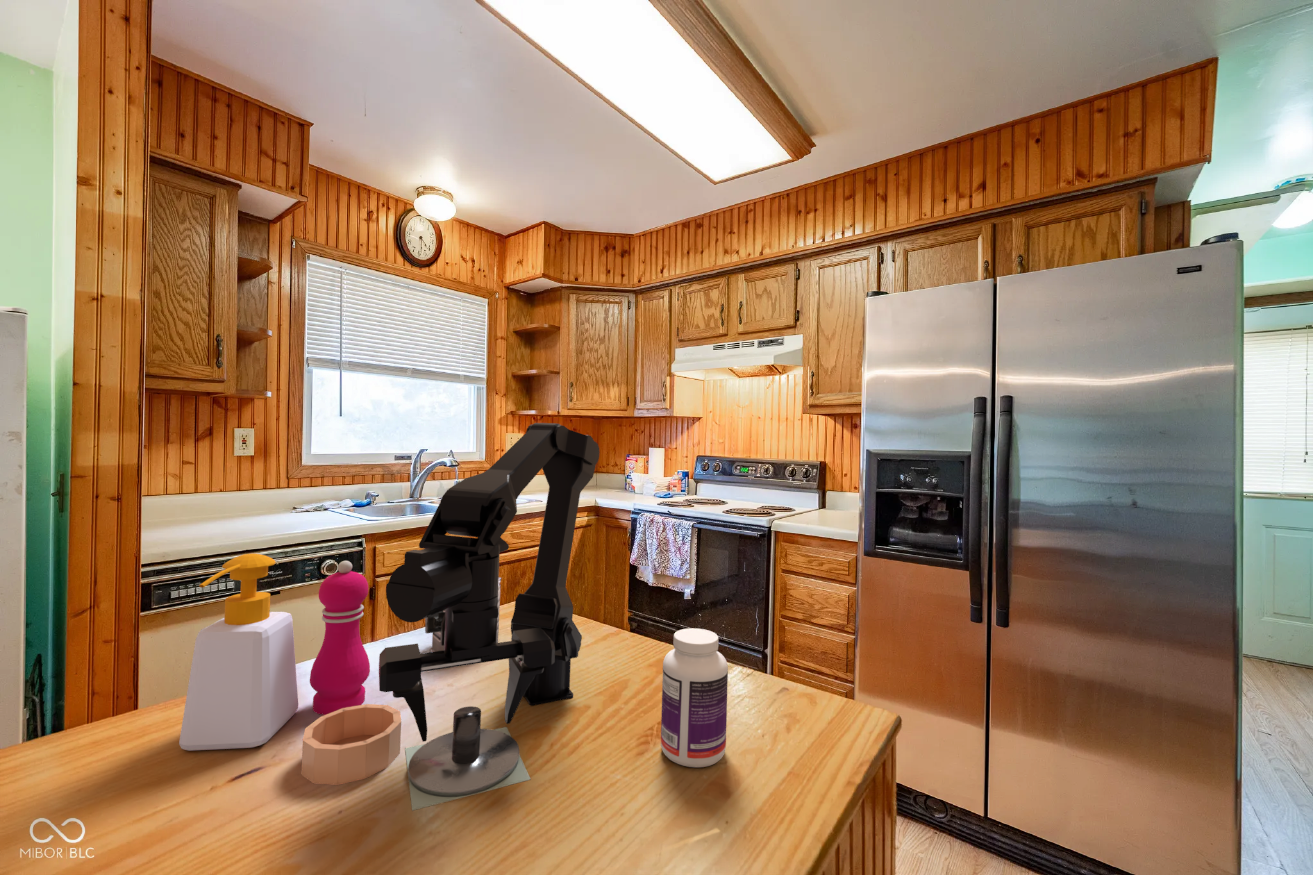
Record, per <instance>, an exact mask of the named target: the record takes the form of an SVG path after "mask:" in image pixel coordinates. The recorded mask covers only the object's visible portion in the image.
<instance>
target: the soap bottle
mask: <svg viewBox="0 0 1313 875" xmlns="http://www.w3.org/2000/svg"><path fill="white" fill-rule="evenodd" d="M275 564H276V560H275V559H273V557H270V556H268V555H264V554H260V553H255V552H254V553H252V552H251V553H244V554H241V555H238V556H235V557H233V558H232V559H230V560H227V561H226V562H225V563H224V564H222V566H221V567H222V569H223V570H221V571H219V572H216V573H215V574H214V575H212V576H211V577H209V578H207V579H206V580H205V581H203V582H202V583H200V584H198V586H199V587H200V588H205V587H207V586H208V585H210V584H211V583H212V582H214V581H215V580H217V579H219V578H220V577H222V576H224V575H226V574H228V573H229V579H230V580H232V581H240V593H237V594H233V595H231V596H230V595H229V596H227V597H226V598H225V599H224V617H223V618H220V619H219V620H217V621H214V622H213V623H212V624H209V625H207V626H206V627H205V626H204V627H203V628H201V629H200V630H199V631H198V634H197V636H196V637H195V643H194V649H193V654H192V659H191V660H192V661H191V666H190V667H191V668H190V673H189V679H188V680H189V681H188V685H187V692H186V699H185V703H184V704H185V705H184V712H183V717H182V723H181V730H180V734H179V742H178V745H179V746H180V748H181V749H182V750H185V751H206V750H207V751H208V750H225V749H226V750H227V749H228V750H230V749H247V748H248V749H249V748H255V747H258V746H262V745H263V744H266V743H268V741H269V740H270V739H271V738H273V736H274V735H275V734H276V733H278V732H279V730H280V729H281V728H282V727H283V726H284V725H285V724H286V723H288V721H289V720H290V719H291V718H292V717H294V715H295V714H296V712H297V710H298V709H299V696H298V695H299V694H298V681H297V667H296V666H297V664H296V651H295V650H296V649H295V638H294V636H295V634H294V626H293V625H294V624H293V622H294V621H293V616H292V614H291V613H289V612H286V611H270V610H271V593H270V592H266V591H257V584H258V583H257V582H258V579H262V578H265V577H267V576H269V567H271V566H274V565H275Z"/></svg>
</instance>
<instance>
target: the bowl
mask: <svg viewBox="0 0 1313 875" xmlns="http://www.w3.org/2000/svg"><path fill="white" fill-rule="evenodd" d="M401 734H402V717H401V711H400V710H398V709H396V708H395V707H392V706H390V705H388V704H375V703H374V704H372V703H365V704H364V703H363V704H362V705H358V706H352V707H347V708H342V709H339V710H337V711H334V712H332V713H329V714H327V715H321V716H320V717H318V718H316V720H314V722H311V724H309V725H308V726H306V728H304V733H303V739H302V748H301V751H302V753H301V772H300V773H301V776H302V777H304V778H305V779H307V780H308V781H309V782H310V783H313V784H314V785H315V784H316V785H317V784H318V785H319V784H320V785H334V786H335V785H336V786H338V785H343V784H347V783H352V782H356V781H361V780H364V779H367V778H369V777H372V776H373V775H375V774H377V773H379V772H381V771H382V770H385V769H386V768H389V766H391V764H393V762H394V761H395V760H396V759H397V758H398V757H399V756H400V754H401V741H402V740H401V739H402V737H401V736H402V735H401Z"/></svg>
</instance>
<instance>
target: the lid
mask: <svg viewBox="0 0 1313 875" xmlns="http://www.w3.org/2000/svg"><path fill="white" fill-rule="evenodd" d="M481 721H482V709H481V708H479V707H476V706H471V705H469V706H463V707H461V708H458V709H456V710H455V711H454V713H453V722H452V723H453V724H452V726H453V727H452V732H448V733H445V734H443V735H440V736H437V737H434V738H433V739H431V740H430V741H427V742H426V743H424V744H425V745H423V744H422V745H423V746H422V747H421V748H419V749H418V750H417V751H416V752H415V753H414V755H413V756H412V758H411V760H410V762H409V771H408V770H407V776H408V777H409V778H408V782H409V781H410V782H411V784H412V785H413V786H414V787H415V788H416V789H417V790H419V791H421V792H423V793H425V794H428V795H432V796H438V797H460V796H466V797H468V796H467V795H470V796H472V795H471V794H474V795H476V794H475V793H478V794H480V793H479V792H482V791H485V790H487V789H490V788H492V787H494V786H496V785H497V784H499V783H501V782H502V781H504V780H505V779H506V778H508V777H509V776H510V775H511V774H512V773H513V771H514V770H515V768H516V767H517V765H518V762H519V755H520V747H519V744H518V742H517V741H516V739H514V737H512V736H509V735H507V734H505V733H503V732H500V731H496V730H494V729H491V728H481V727H482V726H481V724H482V722H481ZM482 793H483V792H482Z"/></svg>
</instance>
